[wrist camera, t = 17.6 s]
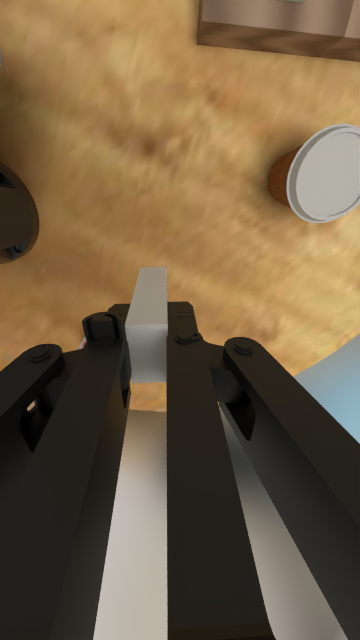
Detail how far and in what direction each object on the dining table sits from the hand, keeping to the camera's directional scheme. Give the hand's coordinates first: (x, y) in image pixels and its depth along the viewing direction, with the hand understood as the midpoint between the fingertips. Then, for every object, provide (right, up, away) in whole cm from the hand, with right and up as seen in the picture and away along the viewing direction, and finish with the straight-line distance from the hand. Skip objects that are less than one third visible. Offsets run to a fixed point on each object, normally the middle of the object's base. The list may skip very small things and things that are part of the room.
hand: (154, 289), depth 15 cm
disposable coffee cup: (+18, +19, +22) cm, 34 cm away
